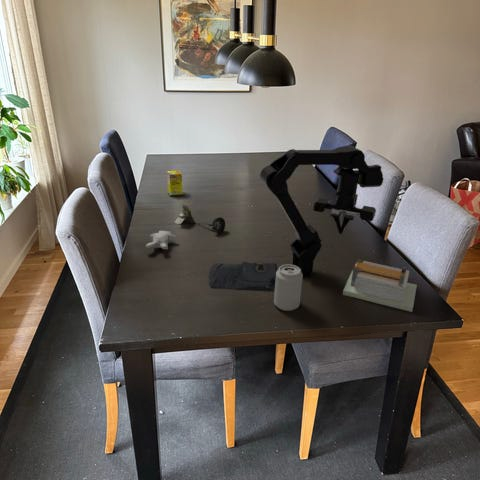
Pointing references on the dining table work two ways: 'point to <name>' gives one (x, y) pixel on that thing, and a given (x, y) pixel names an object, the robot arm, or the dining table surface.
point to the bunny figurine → (161, 240)
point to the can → (288, 287)
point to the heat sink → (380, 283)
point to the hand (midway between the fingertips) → (340, 233)
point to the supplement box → (174, 183)
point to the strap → (379, 270)
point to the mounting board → (404, 305)
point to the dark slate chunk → (243, 276)
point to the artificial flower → (216, 225)
